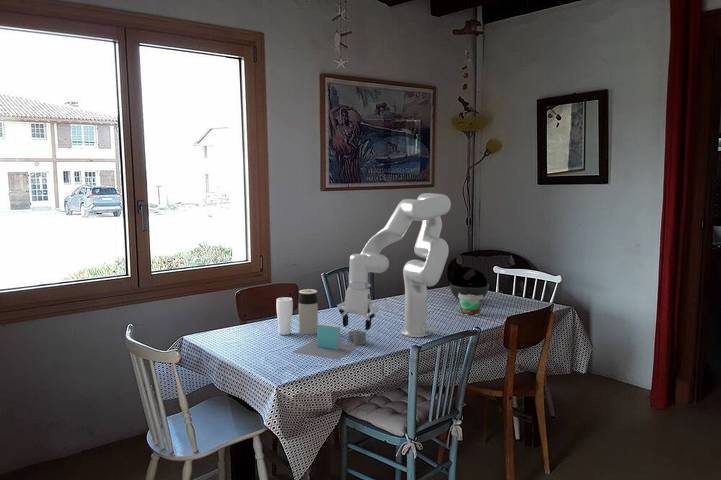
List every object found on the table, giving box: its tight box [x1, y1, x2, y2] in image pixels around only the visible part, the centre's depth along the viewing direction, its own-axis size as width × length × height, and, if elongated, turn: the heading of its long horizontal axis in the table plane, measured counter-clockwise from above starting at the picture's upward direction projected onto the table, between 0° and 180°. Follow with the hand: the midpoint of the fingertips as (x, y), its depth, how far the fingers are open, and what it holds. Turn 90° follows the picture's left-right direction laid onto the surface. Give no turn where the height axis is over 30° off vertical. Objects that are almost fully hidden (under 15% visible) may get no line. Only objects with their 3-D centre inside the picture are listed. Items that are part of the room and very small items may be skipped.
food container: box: [458, 292, 485, 315], centre depth 282 cm, size 12×6×10 cm, turn 68°
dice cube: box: [347, 329, 367, 346], centre depth 235 cm, size 5×5×5 cm
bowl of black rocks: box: [449, 266, 490, 302], centre depth 305 cm, size 20×20×19 cm
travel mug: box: [298, 288, 319, 335], centre depth 250 cm, size 8×8×18 cm
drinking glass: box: [276, 296, 294, 336], centre depth 248 cm, size 7×7×15 cm
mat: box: [292, 339, 360, 361], centre depth 228 cm, size 20×18×1 cm
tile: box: [316, 322, 341, 350], centre depth 229 cm, size 9×2×9 cm, turn 66°
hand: (356, 327), depth 234 cm, fingers open, 9 cm apart
